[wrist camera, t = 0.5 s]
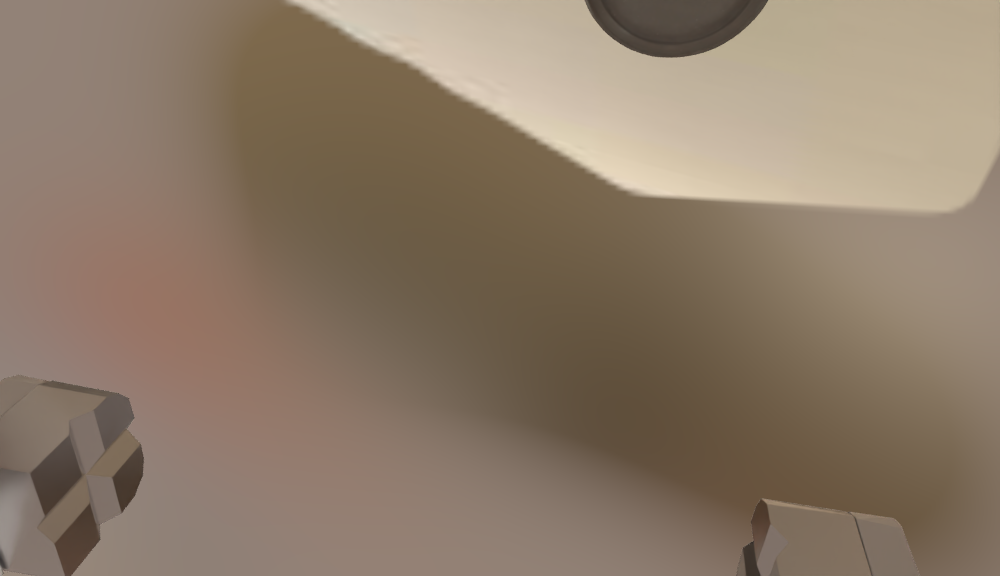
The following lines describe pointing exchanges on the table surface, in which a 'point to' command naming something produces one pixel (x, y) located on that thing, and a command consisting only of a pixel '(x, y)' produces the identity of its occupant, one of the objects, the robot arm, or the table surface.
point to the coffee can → (673, 23)
